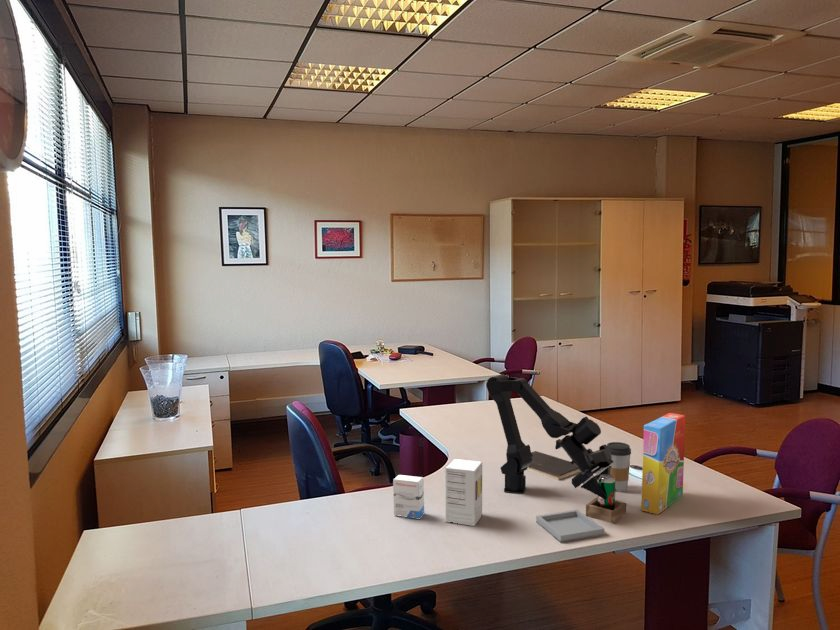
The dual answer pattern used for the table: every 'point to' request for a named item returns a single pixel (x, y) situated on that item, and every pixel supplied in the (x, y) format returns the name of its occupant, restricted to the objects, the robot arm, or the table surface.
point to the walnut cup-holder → (606, 511)
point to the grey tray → (569, 525)
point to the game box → (663, 462)
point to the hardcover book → (551, 466)
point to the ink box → (408, 496)
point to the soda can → (607, 492)
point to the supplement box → (463, 491)
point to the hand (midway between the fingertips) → (610, 495)
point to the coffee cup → (620, 464)
